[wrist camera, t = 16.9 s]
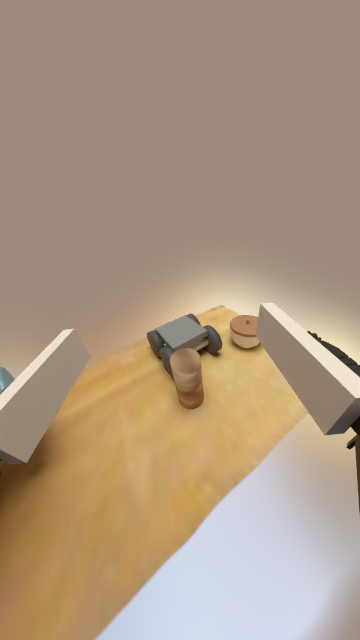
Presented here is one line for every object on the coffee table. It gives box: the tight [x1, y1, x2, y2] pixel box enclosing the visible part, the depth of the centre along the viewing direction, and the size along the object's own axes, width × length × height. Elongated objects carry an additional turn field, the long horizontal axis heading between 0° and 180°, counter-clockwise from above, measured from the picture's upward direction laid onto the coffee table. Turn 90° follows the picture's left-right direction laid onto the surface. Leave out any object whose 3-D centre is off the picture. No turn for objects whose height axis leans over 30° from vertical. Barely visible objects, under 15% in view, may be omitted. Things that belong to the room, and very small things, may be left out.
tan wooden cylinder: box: [170, 348, 204, 409], centre depth 37 cm, size 6×6×14 cm
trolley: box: [147, 314, 222, 378], centre depth 52 cm, size 17×19×10 cm
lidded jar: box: [230, 315, 260, 348], centre depth 52 cm, size 11×11×9 cm
